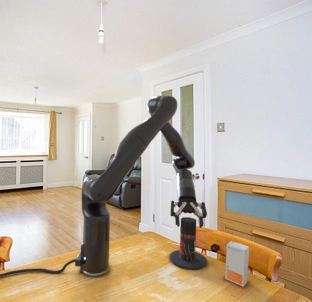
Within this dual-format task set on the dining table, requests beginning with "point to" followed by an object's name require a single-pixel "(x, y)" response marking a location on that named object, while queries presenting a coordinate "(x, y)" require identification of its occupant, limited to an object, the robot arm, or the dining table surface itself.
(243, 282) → the cosmetic box
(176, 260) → the mat
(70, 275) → the dining table surface
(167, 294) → the dining table surface
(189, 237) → the deodorant
